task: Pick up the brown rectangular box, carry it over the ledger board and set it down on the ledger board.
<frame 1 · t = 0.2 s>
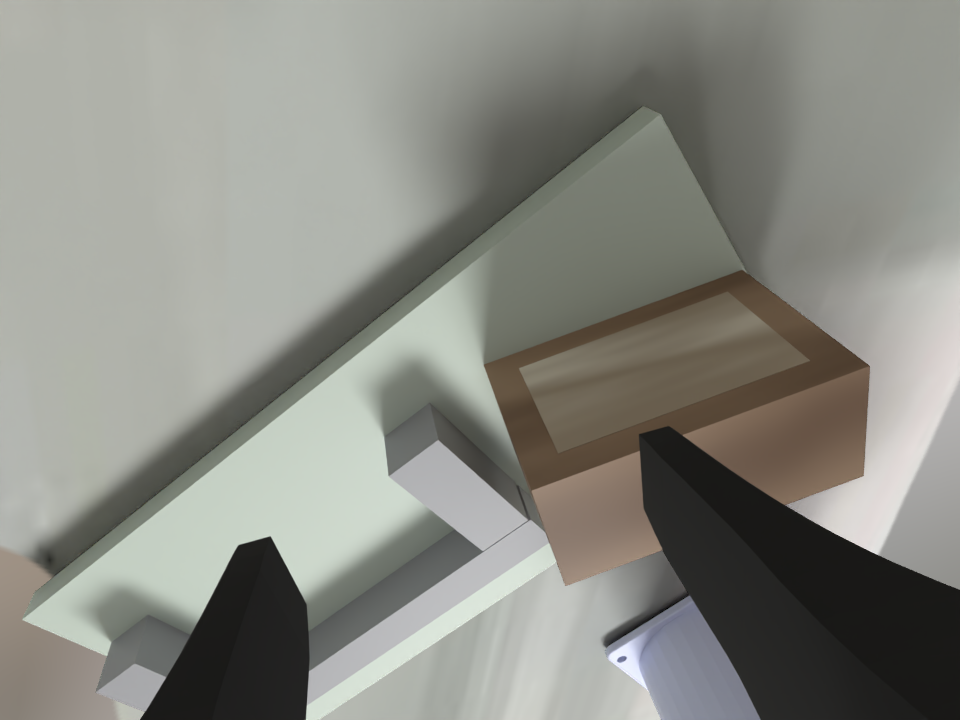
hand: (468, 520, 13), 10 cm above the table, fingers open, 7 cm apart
ledger board: (427, 479, 25), on the table
brown rectangular box: (623, 365, 22), point 1 cm above the table, touching ledger board
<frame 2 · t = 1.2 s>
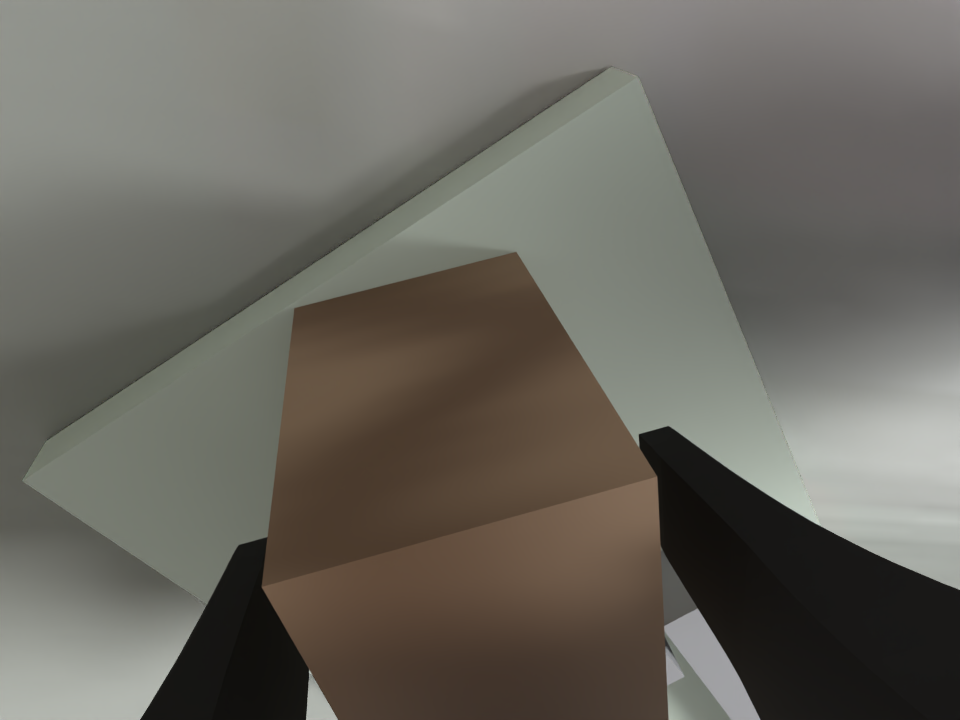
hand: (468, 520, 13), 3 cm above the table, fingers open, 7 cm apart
ledger board: (599, 611, 19), on the table
brown rectangular box: (457, 467, 14), point 1 cm above the table, touching ledger board
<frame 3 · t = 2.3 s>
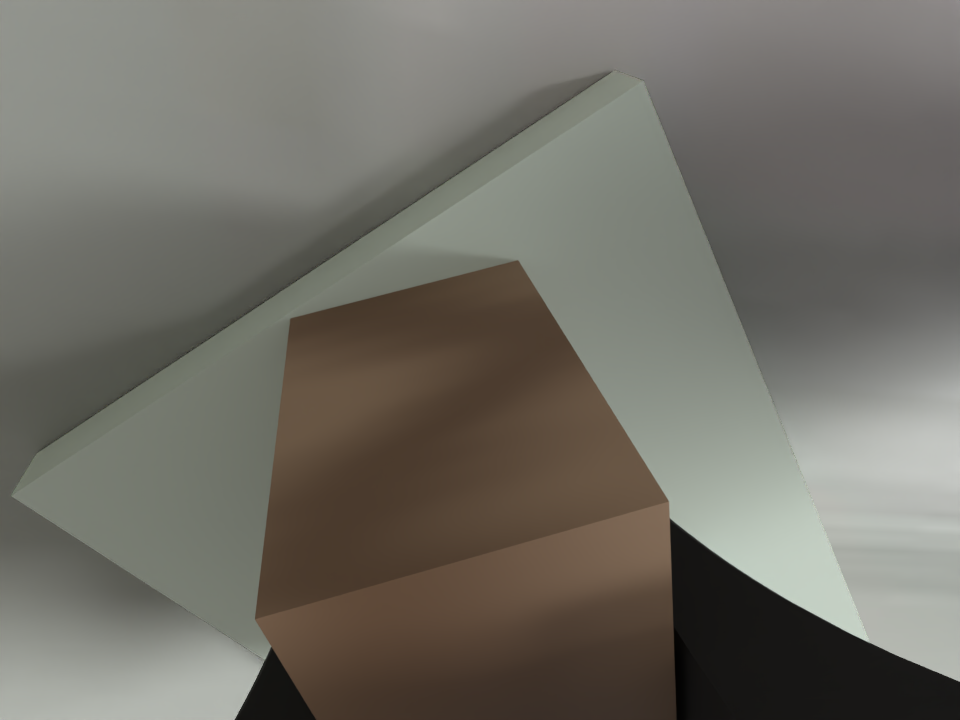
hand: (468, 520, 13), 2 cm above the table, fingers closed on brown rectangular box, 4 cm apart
ledger board: (601, 621, 19), on the table
brown rectangular box: (458, 479, 14), point 1 cm above the table, touching gripper, ledger board
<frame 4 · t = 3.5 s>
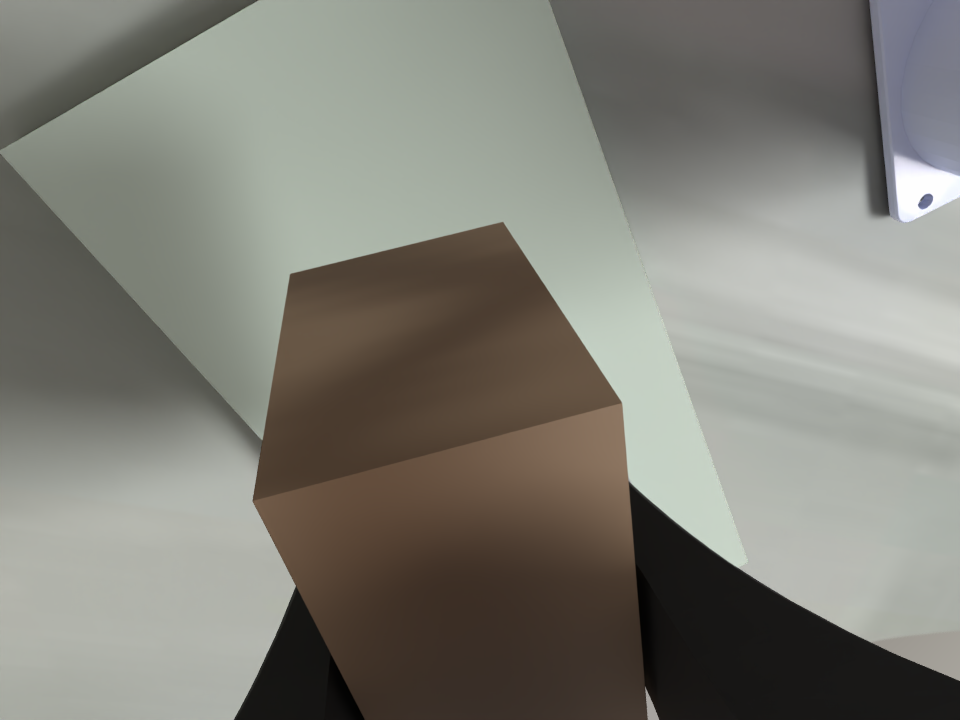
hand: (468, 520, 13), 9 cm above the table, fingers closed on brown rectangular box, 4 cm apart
ledger board: (483, 400, 23), on the table
brown rectangular box: (448, 435, 14), point 7 cm above the table, touching gripper
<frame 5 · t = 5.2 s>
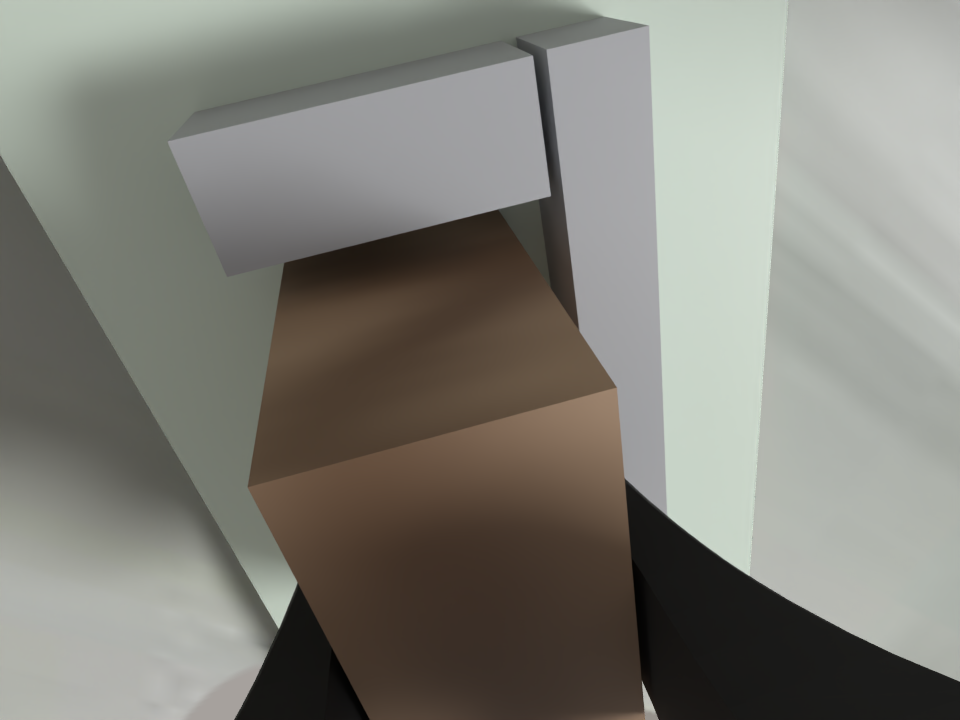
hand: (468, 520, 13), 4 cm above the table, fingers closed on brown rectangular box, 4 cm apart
ledger board: (438, 201, 13), on the table
brown rectangular box: (444, 424, 14), point 1 cm above the table, touching gripper, ledger board
when the fingers open (4 cm above the table, at t = 6.0 s): brown rectangular box stays where it is, resting on ledger board.
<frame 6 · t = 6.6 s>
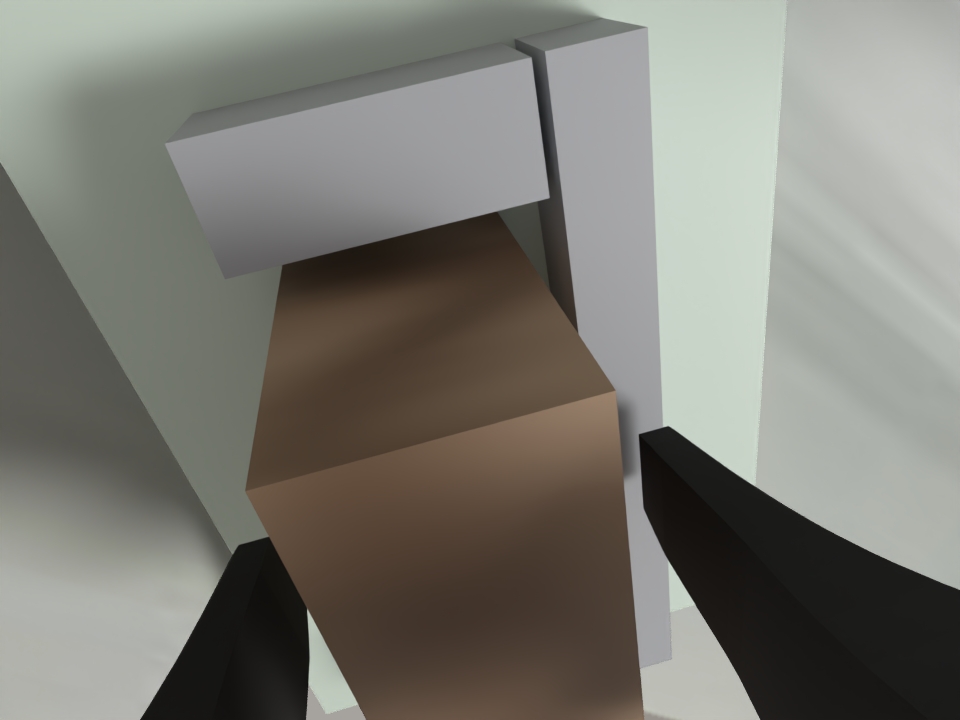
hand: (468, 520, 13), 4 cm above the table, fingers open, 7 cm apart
ledger board: (436, 203, 13), on the table
brown rectangular box: (443, 426, 14), point 1 cm above the table, touching ledger board
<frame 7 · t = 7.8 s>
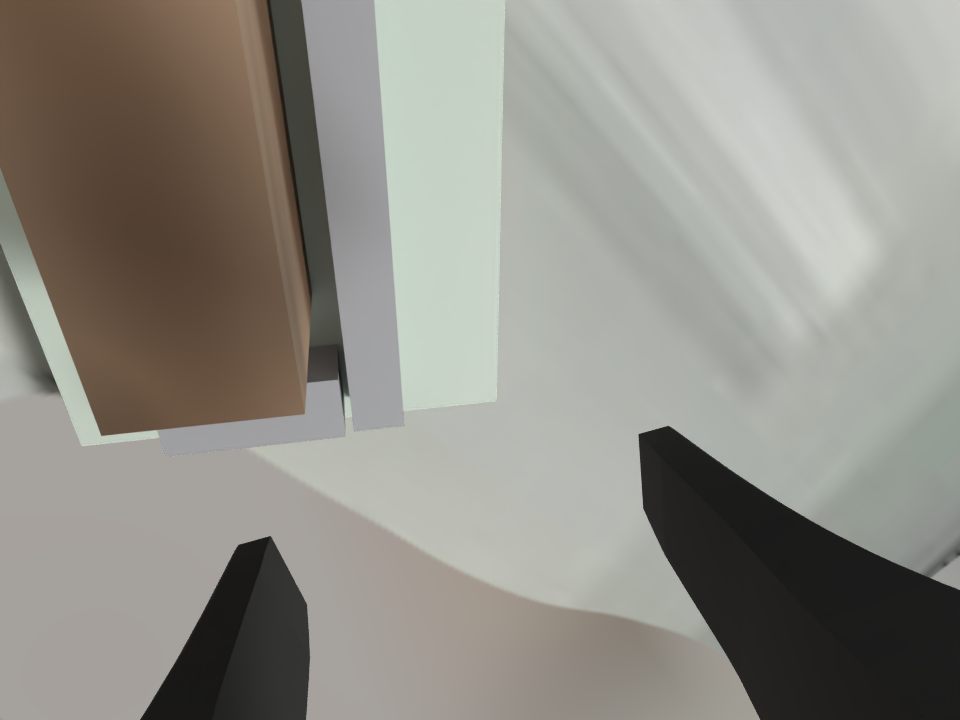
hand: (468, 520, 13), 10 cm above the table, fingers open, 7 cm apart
brown rectangular box: (205, 135, 16), point 1 cm above the table, touching ledger board
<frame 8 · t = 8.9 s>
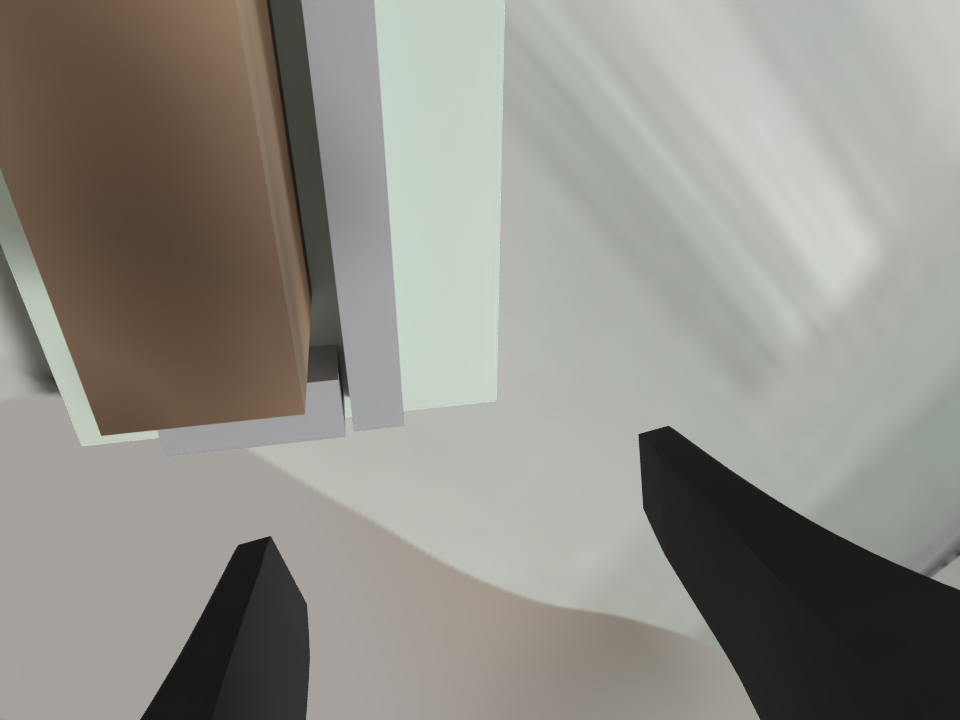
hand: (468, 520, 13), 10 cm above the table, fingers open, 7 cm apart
brown rectangular box: (205, 135, 16), point 1 cm above the table, touching ledger board
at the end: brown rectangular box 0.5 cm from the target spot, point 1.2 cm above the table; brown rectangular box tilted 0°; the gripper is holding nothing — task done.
